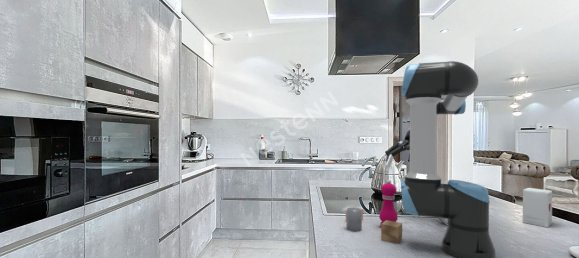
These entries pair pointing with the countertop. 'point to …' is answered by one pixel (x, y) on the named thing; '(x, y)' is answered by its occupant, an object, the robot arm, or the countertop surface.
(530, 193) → the supplement box
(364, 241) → the countertop surface
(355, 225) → the charcoal canister
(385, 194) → the pepper mill
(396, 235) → the walnut block
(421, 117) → the robot arm
